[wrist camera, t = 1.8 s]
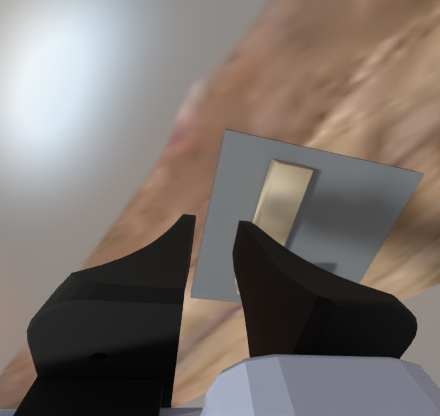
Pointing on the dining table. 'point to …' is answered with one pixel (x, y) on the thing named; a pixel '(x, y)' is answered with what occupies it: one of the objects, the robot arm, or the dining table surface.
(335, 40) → the dining table surface
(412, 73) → the dining table surface
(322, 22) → the dining table surface
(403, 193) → the board
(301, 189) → the link
